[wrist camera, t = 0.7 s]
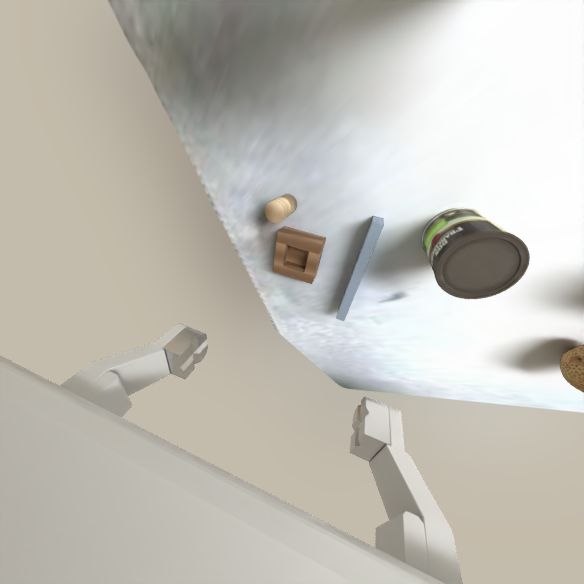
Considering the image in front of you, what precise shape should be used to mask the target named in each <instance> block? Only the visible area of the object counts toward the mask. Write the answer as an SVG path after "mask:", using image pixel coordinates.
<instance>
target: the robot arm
mask: <svg viewBox="0 0 584 584" xmlns="http://www.w3.org/2000/svg"><path fill="white" fill-rule="evenodd" d="M206 339H207V336H206V334H204V333H202V332H200V331H197V330H195V329H192V328H190V327H188V326H185V325H183V324H177V325H175V326H174V327H173V328H172V329H170V330H169V331H168V332H167V333H166V334H164V335H163V336H162V337H161V338H160V339H158V340H157V341H156V342H155V343H154V344H147V345H144V346H141V347H137V348H134V349H131V350H128V351H125V352H122V353H119V354H116V355H113V356H110V357H106V358H103V359H100V360H97V361H94V362H92V363H90V364H89V365H88V366H87V367H85V368H84V369H82V370H81V371H79V372H78V373H77V374H75V375H74V376H72V377H71V378H70V379H68V380H67V381H66V382H64V383H63V384H61V385H60V386H59V385H57V384H55V383H53V382H51V381H49V380H47V379H45V378H43V377H41V376H39V375H37V374H35V373H33V372H31V371H29V370H27V369H25V368H23V367H21V366H20V365H18V364H16V363H14V362H12V361H10V360H8V359H6V358H4V357H2V356H0V584H463V583H462V578H461V573H460V568H459V563H458V558H457V552H456V547H455V542H454V537H453V532H452V530H451V528H450V527H449V525H448V523H447V521H446V519H445V518H444V516H443V514H442V512H441V511H440V509H439V507H438V505H437V503H436V502H435V500H434V498H433V496H432V494H431V493H430V491H429V489H428V487H427V486H426V484H425V482H424V480H423V479H422V477H421V475H420V473H419V472H418V470H417V468H416V466H415V464H414V463H413V461H412V459H411V457H410V455H409V454H408V453H406V452H405V450H404V439H403V429H402V417H401V412H400V410H398V409H396V408H393V407H390V406H387V405H386V404H383V403H381V402H378V401H376V400H373V399H370V398H367V397H363V399H362V401H361V405H359V406H358V407H357V409H356V411H355V414H354V417H353V424H352V427H353V429H354V431H355V432H354V433H353V435H352V436H351V445H350V453H352V454H354V455H356V456H358V457H360V458H362V459H364V460H367V461H369V465H370V467H371V470H372V473H373V476H374V478H375V481H376V484H377V487H378V490H379V492H380V495H381V498H382V500H383V503H384V506H385V509H386V512H387V515H388V518H389V521H387V522H386V523H384V524H382V525H380V526H379V527H377V528H376V548H375V547H373V546H371V545H369V544H367V543H365V542H363V541H361V540H359V539H357V538H355V537H353V536H351V535H349V534H348V533H346V532H344V531H342V530H340V529H338V528H336V527H334V526H332V525H330V524H328V523H326V522H324V521H322V520H320V519H318V518H316V517H314V516H312V515H310V514H309V513H307V512H305V511H303V510H301V509H299V508H297V507H295V506H293V505H291V504H289V503H287V502H285V501H283V500H281V499H279V498H277V497H275V496H273V495H271V494H269V493H268V492H265V491H264V490H262V489H260V488H258V487H256V486H254V485H252V484H250V483H248V482H246V481H244V480H242V479H240V478H238V477H236V476H234V475H232V474H230V473H228V472H227V471H225V470H223V469H221V468H219V467H217V466H214V465H213V464H211V463H209V462H207V461H205V460H203V459H201V458H199V457H197V456H195V455H193V454H191V453H189V452H187V451H186V450H183V449H182V448H180V447H178V446H176V445H174V444H172V443H170V442H168V441H166V440H164V439H162V438H160V437H158V436H156V435H154V434H152V433H150V432H148V431H146V430H145V429H143V428H141V427H139V426H137V425H135V424H133V423H131V422H129V421H127V420H125V419H123V418H121V417H122V416H123V415H124V414H125V413H126V412H127V411H128V410H129V409H130V408H131V405H132V404H131V401H130V399H129V397H128V396H129V395H131V394H133V393H135V392H137V391H139V390H141V389H143V388H145V387H147V386H149V385H150V384H152V383H154V382H156V381H158V380H160V379H162V378H164V377H166V376H168V375H169V374H170V373H171V374H173V375H176V376H178V377H181V378H183V379H186V378H187V377H188V375H189V374H190V373H191V372H192V371H193V370H194V366H195V364H196V363H199V362H200V361H201V360H202V359H203V358H204V356H205V355H206V353H207V349H208V346H207V344H206V342H205V340H206Z"/></svg>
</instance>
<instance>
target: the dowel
mask: <svg viewBox="0 0 584 584" xmlns="http://www.w3.org/2000/svg"><path fill="white" fill-rule="evenodd" d="M296 207H297V202H296V199H295V198H294V197H293V196H292V195H290V194H286V195H283V196H281V197H279V198H277V199H275V200H273V201H271V202H269V203H267V205H266V206H265V216H266V218H267V219H268V220H269V221H270V222H272V223H278V222H280V221H282V220H283V219H284V218H286V217H287V216H289V215H290V214H291V213H293V212H294V211H295V210H296Z"/></svg>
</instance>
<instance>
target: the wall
mask: <svg viewBox="0 0 584 584" xmlns="http://www.w3.org/2000/svg"><path fill="white" fill-rule="evenodd" d="M383 226H384V223H383V218H379V217H376V216H373V218H372V221H371V223H370V226H369V229H368V231H367V234H366V237H365V239H364V242H363V245H362V247H361V250H360V253H359V255H358V258H357V261H356V263H355V266H354V269H353V271H352V274H351V277H350V279H349V282H348V285H347V287H346V290H345V293H344V295H343V298H342V301H341V303H340V306H339V309H338V313H337V317H336V319H339V320H342V321H344V320H345V318H346V315H347V313H348V310H349V308H350V305H351V303H352V301H353V298H354V296H355V293H356V291H357V289H358V286H359V284H360V281H361V279H362V276H363V274H364V272H365V269H366V267H367V264H368V262H369V260H370V257H371V255H372V252H373V250H374V247H375V245H376V243H377V240H378V238H379V235H380V233H381V231H382V228H383Z"/></svg>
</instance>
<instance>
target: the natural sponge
mask: <svg viewBox="0 0 584 584" xmlns="http://www.w3.org/2000/svg"><path fill="white" fill-rule="evenodd" d="M560 369H561V372H562V375H563V377H564V378H565V379H566V381H567V382H569V383H570V384H571V385H572V386H574V387H575V388H576V389H578V390H580V391H582V392H584V345H581V346H579V347H576V348H574V349H571V350H569V351H567V352H566V353H565V354H564V355H563V356H562V358H561V361H560Z"/></svg>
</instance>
